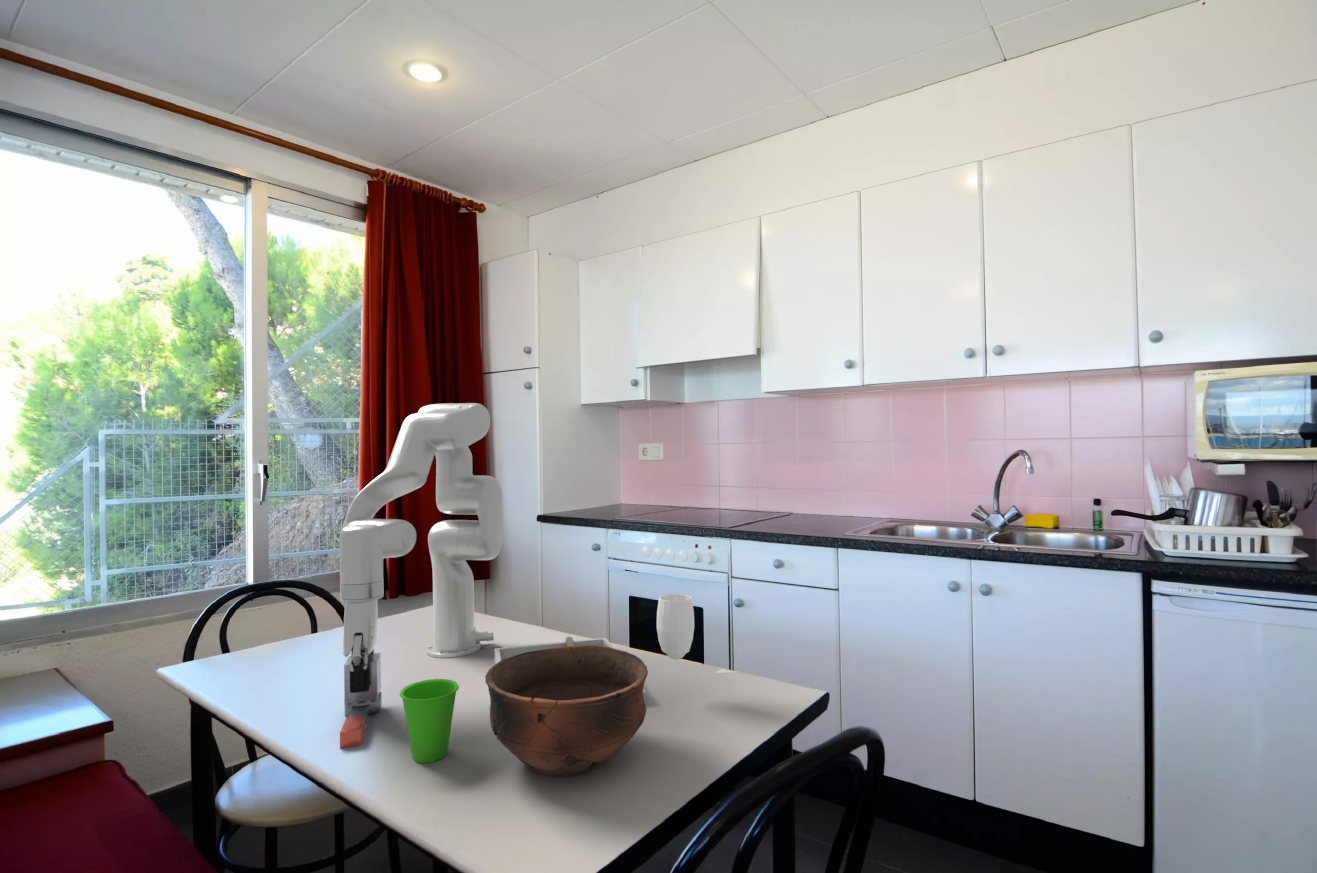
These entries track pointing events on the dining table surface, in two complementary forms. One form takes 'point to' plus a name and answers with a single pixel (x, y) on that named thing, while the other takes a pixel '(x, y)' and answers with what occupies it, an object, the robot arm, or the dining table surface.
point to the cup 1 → (429, 717)
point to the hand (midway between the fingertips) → (363, 683)
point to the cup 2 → (675, 624)
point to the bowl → (566, 706)
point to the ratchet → (358, 721)
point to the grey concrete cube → (374, 680)
